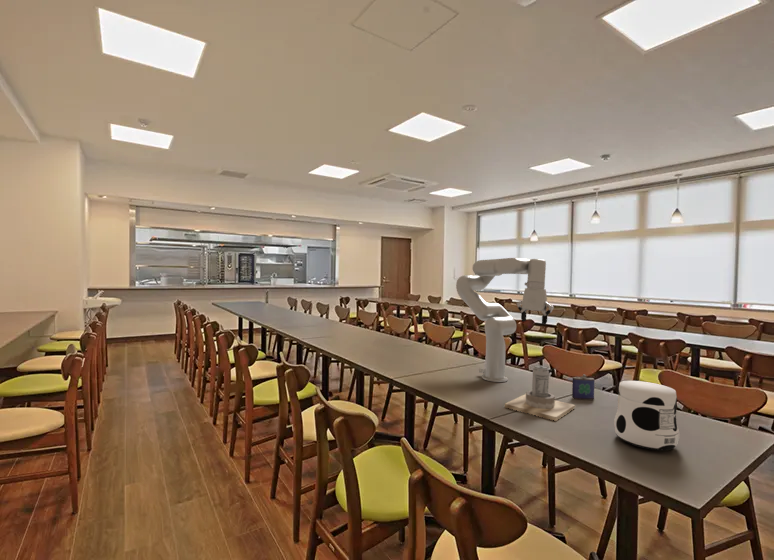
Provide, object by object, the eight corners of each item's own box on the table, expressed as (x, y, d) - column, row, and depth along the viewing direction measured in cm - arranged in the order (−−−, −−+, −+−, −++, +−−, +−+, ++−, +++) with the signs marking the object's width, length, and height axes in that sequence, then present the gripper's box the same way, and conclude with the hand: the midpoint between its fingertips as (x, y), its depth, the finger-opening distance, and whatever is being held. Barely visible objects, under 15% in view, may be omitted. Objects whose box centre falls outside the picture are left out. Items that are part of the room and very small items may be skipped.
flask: (592, 398, 172) (593, 373, 171) (595, 400, 169) (596, 375, 168) (570, 397, 172) (571, 373, 172) (573, 399, 169) (574, 374, 169)
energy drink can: (546, 402, 158) (548, 365, 158) (548, 407, 153) (550, 369, 152) (531, 401, 160) (532, 364, 160) (532, 405, 154) (533, 367, 154)
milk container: (618, 428, 137) (620, 376, 137) (680, 442, 126) (682, 386, 126) (608, 443, 124) (610, 387, 124) (676, 461, 113) (679, 399, 113)
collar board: (504, 407, 156) (505, 393, 156) (526, 397, 170) (526, 384, 170) (556, 421, 142) (556, 406, 142) (574, 408, 157) (575, 395, 157)
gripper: (514, 284, 184) (512, 320, 185) (551, 287, 172) (548, 325, 172) (521, 284, 189) (519, 319, 190) (558, 287, 177) (555, 324, 178)
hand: (533, 322), depth 181 cm, fingers open, 9 cm apart
